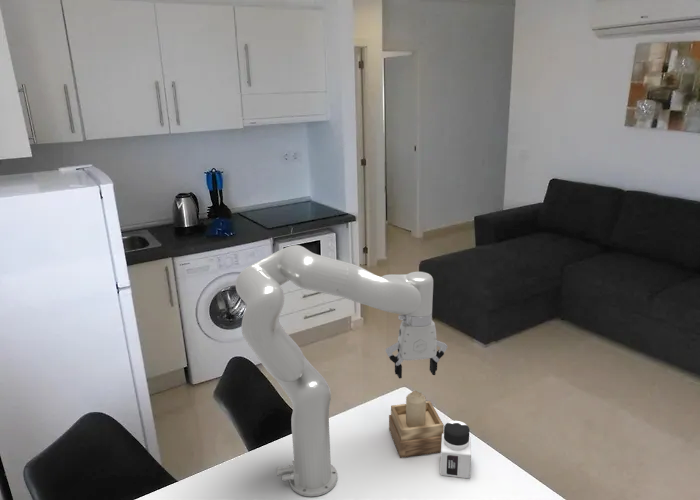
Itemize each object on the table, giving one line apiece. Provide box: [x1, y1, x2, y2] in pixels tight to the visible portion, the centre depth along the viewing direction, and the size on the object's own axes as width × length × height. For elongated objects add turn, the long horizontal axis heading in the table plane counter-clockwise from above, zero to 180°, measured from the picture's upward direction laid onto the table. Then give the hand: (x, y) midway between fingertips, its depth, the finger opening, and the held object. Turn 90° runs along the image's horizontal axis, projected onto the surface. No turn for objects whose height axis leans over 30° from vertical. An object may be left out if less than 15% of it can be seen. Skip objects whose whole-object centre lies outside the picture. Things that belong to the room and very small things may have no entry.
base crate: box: [388, 414, 442, 459], centre depth 151 cm, size 13×13×5 cm
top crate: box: [390, 400, 445, 441], centre depth 150 cm, size 12×12×4 cm
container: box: [439, 420, 472, 479], centre depth 139 cm, size 8×8×13 cm
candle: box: [405, 390, 427, 428], centre depth 149 cm, size 6×6×10 cm
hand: (415, 374), depth 145 cm, fingers open, 9 cm apart
